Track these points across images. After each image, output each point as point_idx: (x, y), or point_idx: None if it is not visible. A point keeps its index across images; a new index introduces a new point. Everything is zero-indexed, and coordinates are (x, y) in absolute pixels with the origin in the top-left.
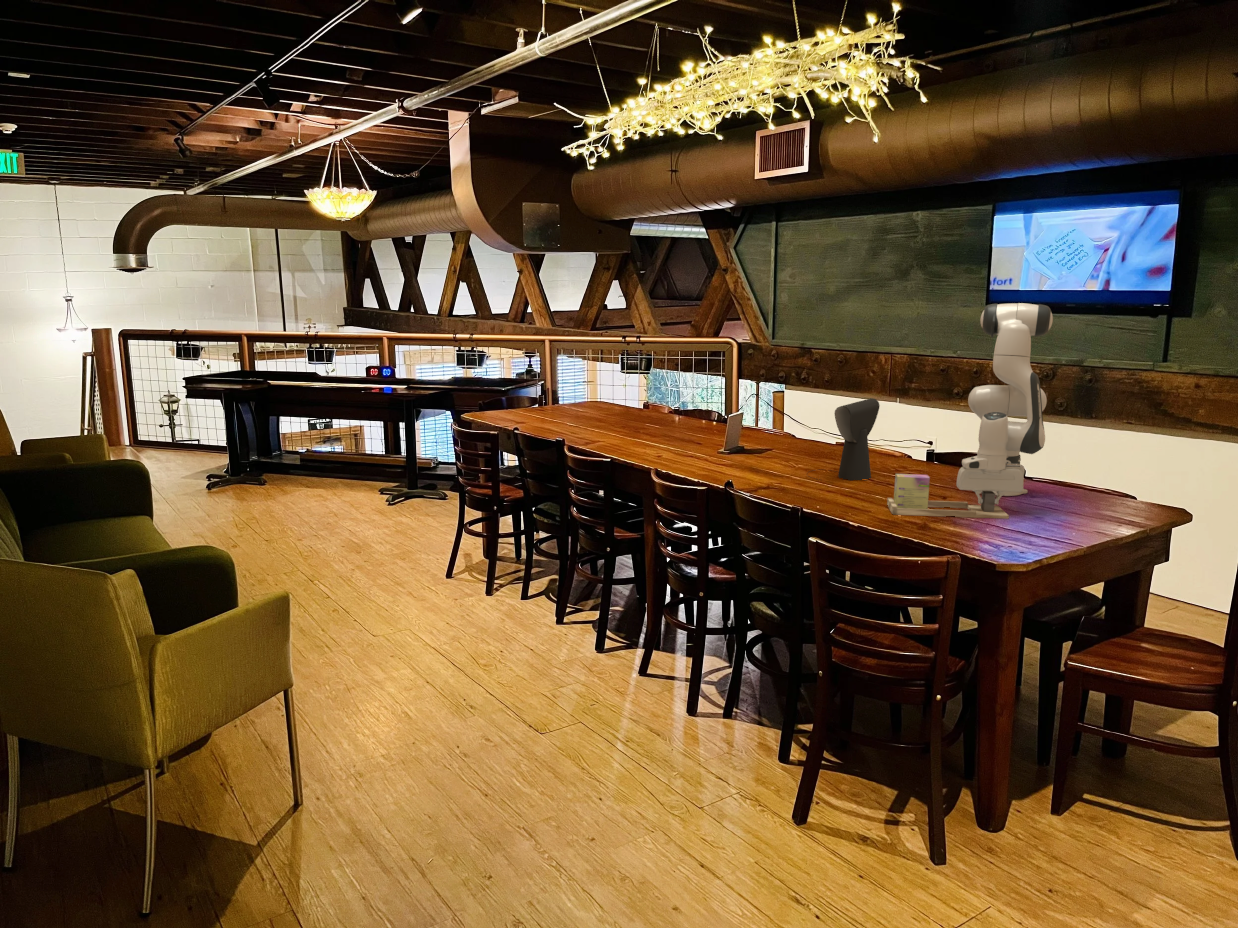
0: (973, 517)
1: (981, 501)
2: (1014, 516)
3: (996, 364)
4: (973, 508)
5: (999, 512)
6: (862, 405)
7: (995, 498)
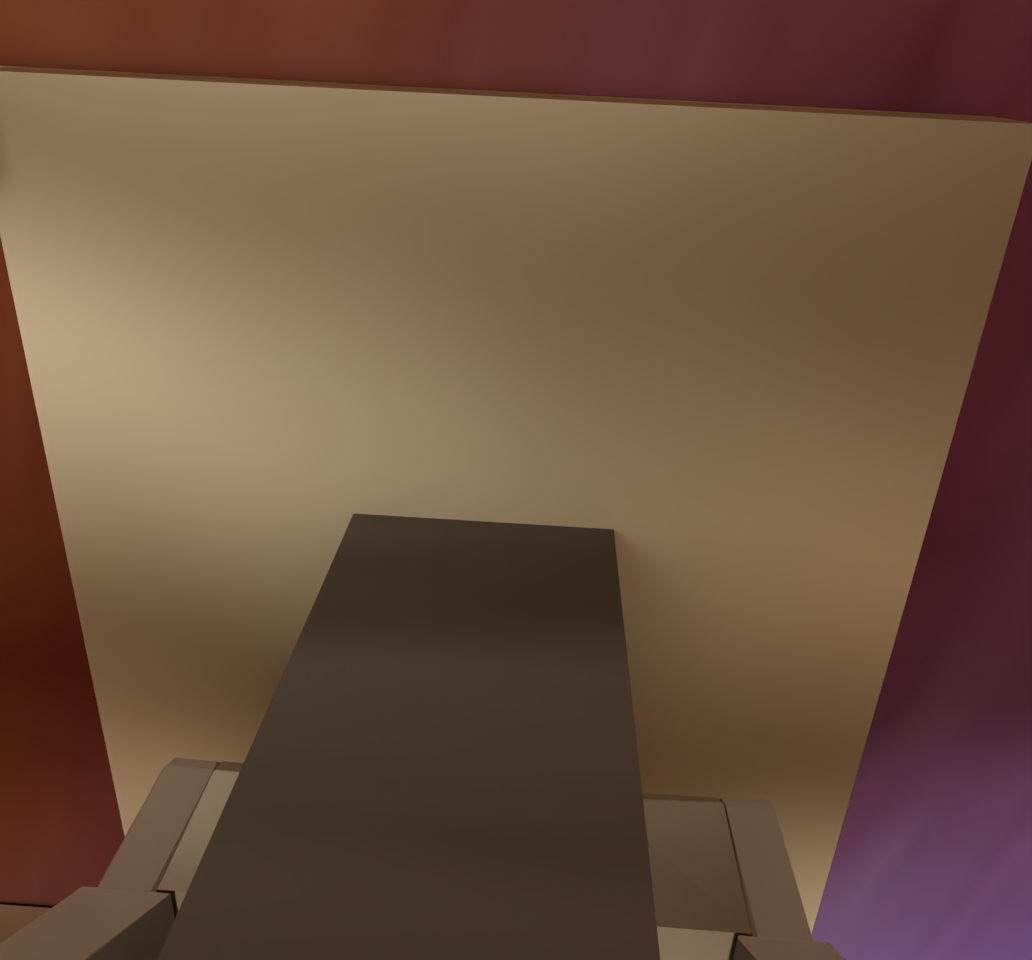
0: None
1: None
2: (981, 852)
3: None
4: (150, 557)
5: None
6: None
7: (721, 957)
